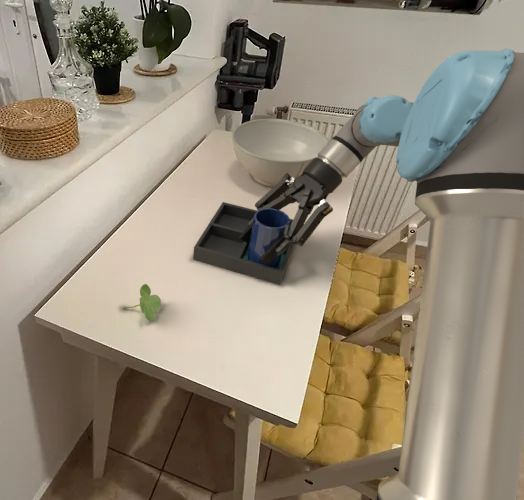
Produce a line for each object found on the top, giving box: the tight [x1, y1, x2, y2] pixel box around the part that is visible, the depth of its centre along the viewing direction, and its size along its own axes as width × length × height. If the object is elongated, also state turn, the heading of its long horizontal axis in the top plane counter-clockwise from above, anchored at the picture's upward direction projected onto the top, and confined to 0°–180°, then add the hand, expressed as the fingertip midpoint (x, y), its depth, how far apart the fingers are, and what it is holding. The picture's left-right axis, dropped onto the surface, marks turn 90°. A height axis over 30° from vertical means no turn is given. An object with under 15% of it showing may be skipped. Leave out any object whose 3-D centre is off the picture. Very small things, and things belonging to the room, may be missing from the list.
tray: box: [192, 201, 296, 286], centre depth 100 cm, size 20×20×4 cm
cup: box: [248, 208, 291, 268], centre depth 92 cm, size 7×7×11 cm
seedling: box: [122, 283, 162, 322], centre depth 84 cm, size 7×8×7 cm
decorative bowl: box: [231, 118, 330, 188], centre depth 123 cm, size 27×27×12 cm
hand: (253, 250), depth 92 cm, fingers closed on cup, 7 cm apart
